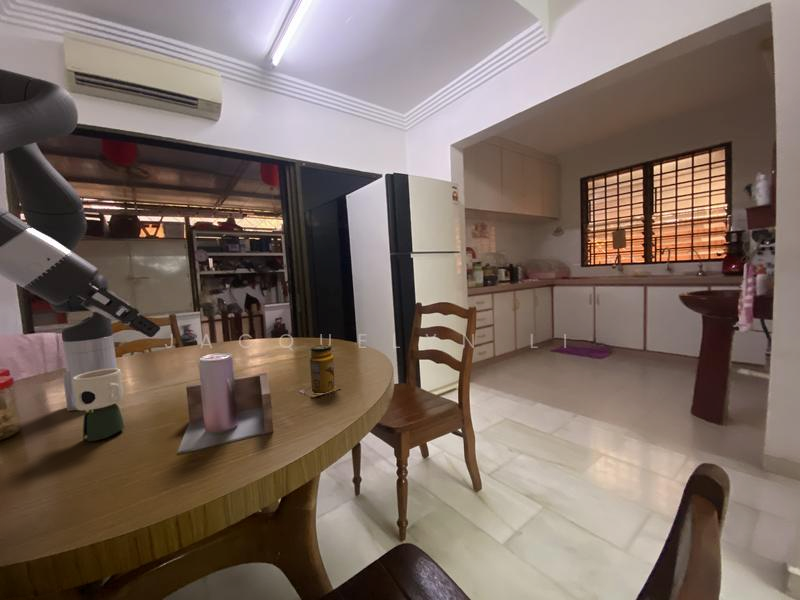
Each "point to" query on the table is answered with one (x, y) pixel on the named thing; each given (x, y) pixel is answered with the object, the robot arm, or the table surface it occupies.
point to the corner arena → (250, 411)
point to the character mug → (99, 402)
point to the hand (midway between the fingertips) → (149, 329)
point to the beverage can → (218, 393)
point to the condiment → (321, 369)
